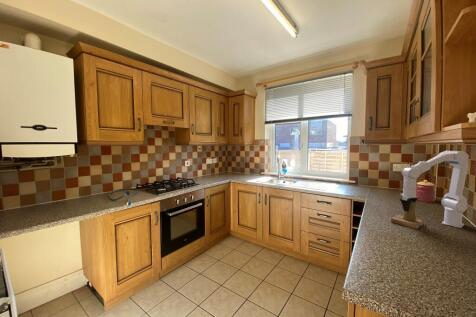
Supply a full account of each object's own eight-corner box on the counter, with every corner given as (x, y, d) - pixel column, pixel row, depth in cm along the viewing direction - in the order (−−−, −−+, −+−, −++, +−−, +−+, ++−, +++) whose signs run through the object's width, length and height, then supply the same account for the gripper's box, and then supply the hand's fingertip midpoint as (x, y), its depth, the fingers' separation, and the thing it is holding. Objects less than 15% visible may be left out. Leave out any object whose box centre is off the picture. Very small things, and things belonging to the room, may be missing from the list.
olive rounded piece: (402, 217, 124) (403, 200, 123) (415, 219, 120) (416, 201, 119) (403, 220, 119) (404, 202, 118) (416, 222, 115) (417, 204, 115)
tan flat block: (398, 218, 129) (398, 214, 129) (422, 224, 119) (423, 220, 119) (390, 222, 122) (391, 218, 122) (416, 229, 112) (416, 224, 112)
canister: (437, 203, 160) (438, 181, 159) (416, 201, 167) (417, 180, 166) (432, 199, 171) (433, 179, 170) (412, 197, 178) (413, 178, 177)
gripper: (405, 185, 126) (404, 206, 127) (396, 188, 118) (395, 210, 119) (420, 187, 120) (418, 209, 121) (411, 190, 112) (410, 213, 113)
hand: (408, 210), depth 120 cm, fingers open, 7 cm apart
